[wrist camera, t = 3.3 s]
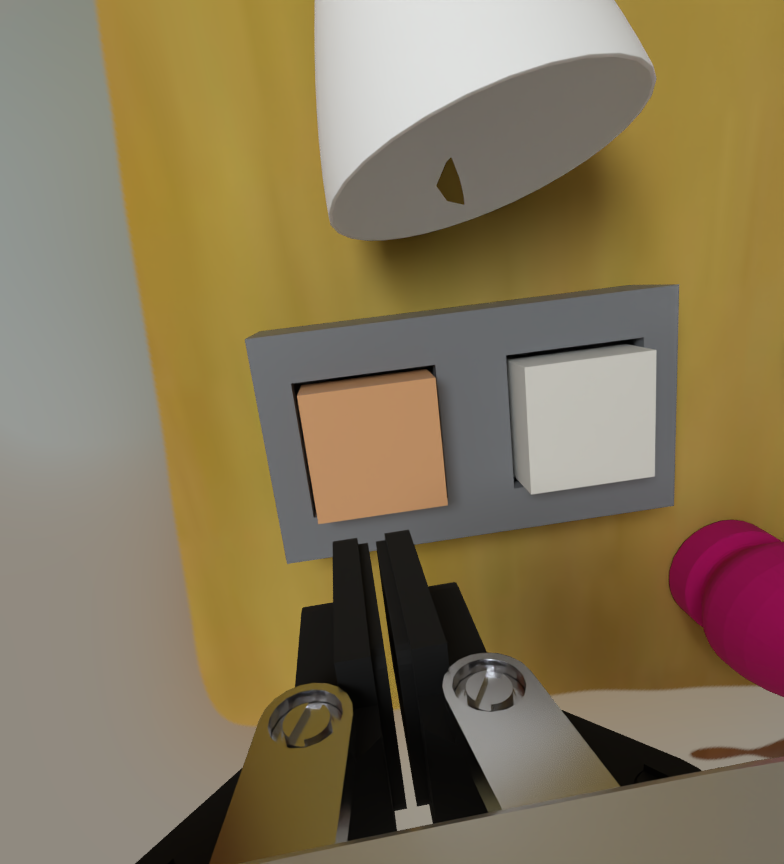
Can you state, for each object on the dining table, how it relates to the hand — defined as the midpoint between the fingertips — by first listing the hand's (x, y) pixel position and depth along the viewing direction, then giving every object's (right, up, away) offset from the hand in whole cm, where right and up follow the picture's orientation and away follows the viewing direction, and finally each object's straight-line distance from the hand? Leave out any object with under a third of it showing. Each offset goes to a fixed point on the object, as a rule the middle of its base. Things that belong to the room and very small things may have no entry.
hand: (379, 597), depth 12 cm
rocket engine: (+2, +22, +11) cm, 25 cm away
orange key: (-1, +3, +12) cm, 13 cm away
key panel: (+4, +5, +16) cm, 17 cm away
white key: (+8, +4, +13) cm, 16 cm away
